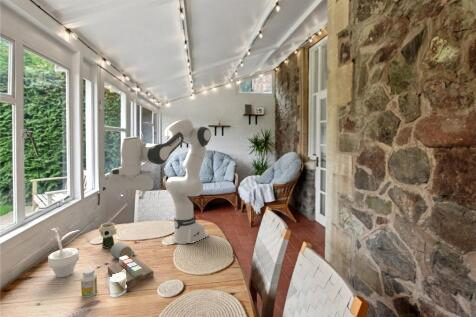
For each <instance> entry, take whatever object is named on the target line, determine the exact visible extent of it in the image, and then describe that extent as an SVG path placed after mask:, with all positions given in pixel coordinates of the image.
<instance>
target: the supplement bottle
mask: <svg viewBox="0 0 476 317" xmlns="http://www.w3.org/2000/svg"><path fill="white" fill-rule="evenodd" d="M97 283H98V280H97V274H96V273H95V268H93V267H90V268H85V269H84V270H83V271H82V277H81V278H80V284H81V285H80V290H81V291H80V292H81V296H82V297H83V298H91V297H93V296H94V295H96V294H97V293H98V284H97Z"/></svg>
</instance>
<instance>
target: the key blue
mask: <svg viewBox="0 0 476 317" xmlns="http://www.w3.org/2000/svg"><path fill="white" fill-rule="evenodd" d="M135 266H137V264H136V263H135V262H132V263H129V264H127V272H128V273H129V274H130V273H131V268H133V267H135Z"/></svg>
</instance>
